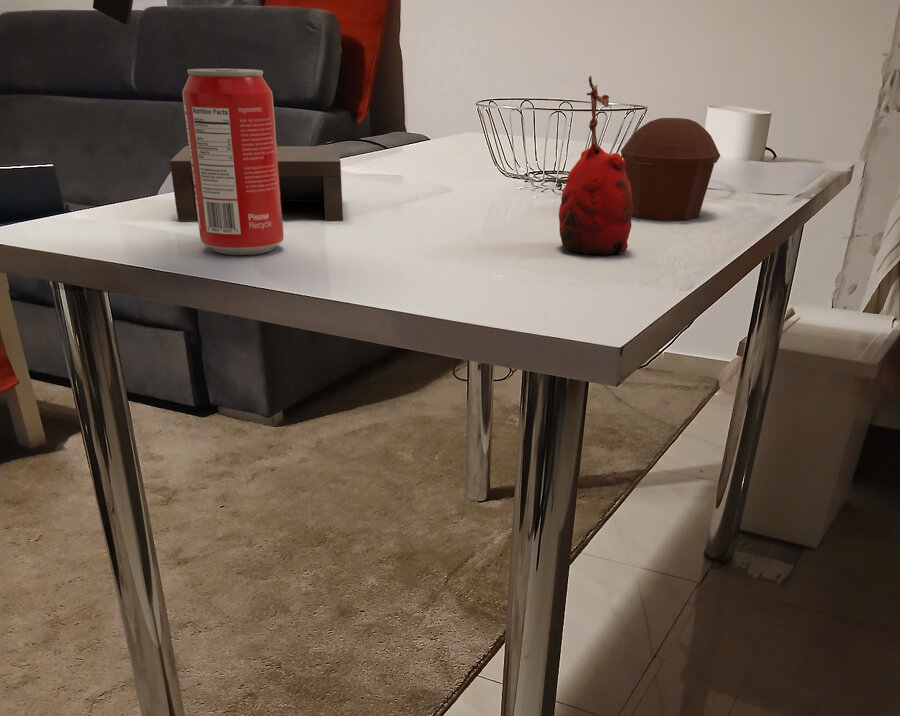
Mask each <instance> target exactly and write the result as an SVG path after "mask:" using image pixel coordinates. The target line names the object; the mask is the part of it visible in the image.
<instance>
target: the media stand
mask: <svg viewBox="0 0 900 716" xmlns="http://www.w3.org/2000/svg"><path fill="white" fill-rule="evenodd" d="M277 156H278V169H279V182H280V195H281V202H323V208H324V221H343V220H344V211H343V209H344V208H343V187H342V186H343V185H342V165H341V157H340V153H339V148H338V146H336V145H335V146H332V145H331V146H330V145H329V146H327V145H325V146H323V145H321V146H320V145H317V146H316V145H314V146H313V145H311V146H310V145H304V146H303V145H301V146H300V145H297V146H296V145H295V146H294V145H277ZM169 164H170V165H169V166H170V172H171V173H170V174H171V180H172V188H173V194H174V201H175V208H176V209H175V210H176V216H177V222H198V216H197V208H196V200H195V192H194V184H193V176H192V168H191V160H190V152H189V145H185V146H184V147H183V148H182V149H180V151H179V152H178V153H176V155H174V157H172V158H171V159H170V160H169Z"/></svg>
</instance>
